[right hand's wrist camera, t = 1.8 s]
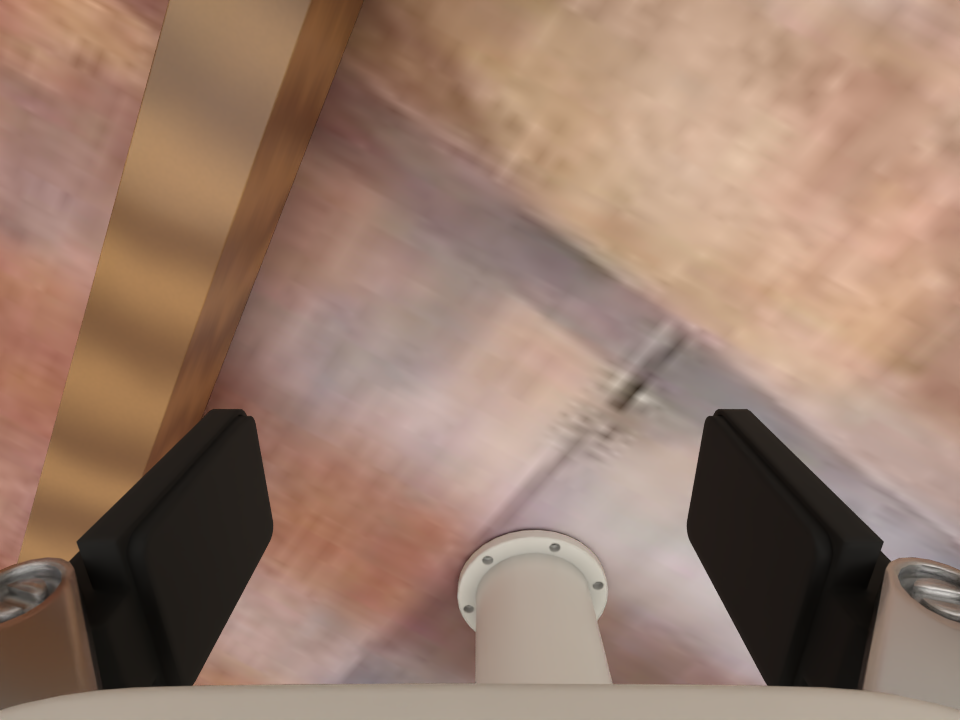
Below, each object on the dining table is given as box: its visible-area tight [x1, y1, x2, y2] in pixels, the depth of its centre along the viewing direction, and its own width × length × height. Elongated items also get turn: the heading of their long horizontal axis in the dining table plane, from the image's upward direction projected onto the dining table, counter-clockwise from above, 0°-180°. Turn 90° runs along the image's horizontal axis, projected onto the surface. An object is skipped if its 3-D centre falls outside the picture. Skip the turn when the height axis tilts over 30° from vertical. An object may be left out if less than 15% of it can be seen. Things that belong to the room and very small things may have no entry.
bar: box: [17, 0, 364, 564], centre depth 32 cm, size 61×5×8 cm, turn 152°
